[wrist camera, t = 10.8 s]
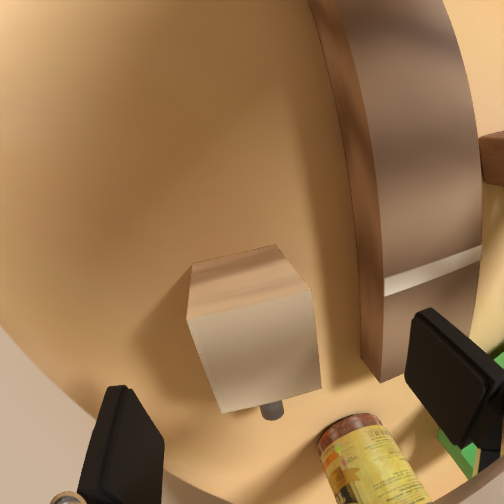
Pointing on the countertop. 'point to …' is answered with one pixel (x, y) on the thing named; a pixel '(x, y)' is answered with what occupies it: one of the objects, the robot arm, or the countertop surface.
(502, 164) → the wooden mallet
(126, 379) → the countertop surface
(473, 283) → the walnut board
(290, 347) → the block
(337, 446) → the sauce bottle
